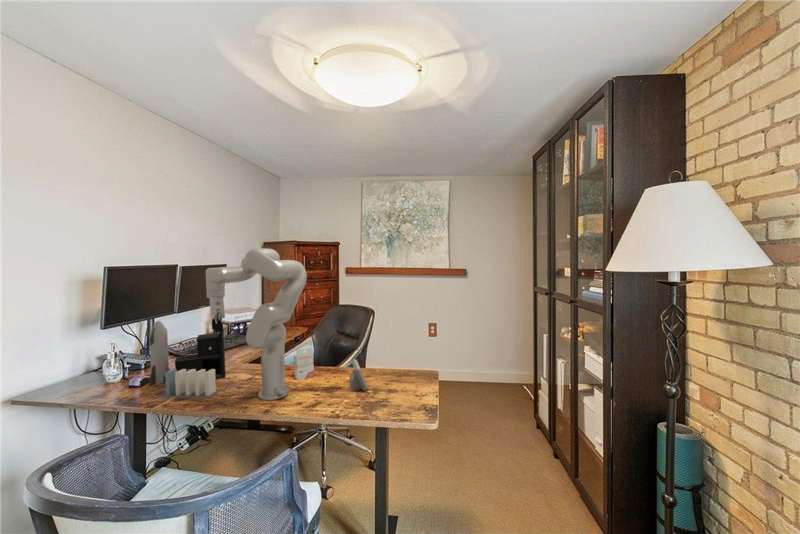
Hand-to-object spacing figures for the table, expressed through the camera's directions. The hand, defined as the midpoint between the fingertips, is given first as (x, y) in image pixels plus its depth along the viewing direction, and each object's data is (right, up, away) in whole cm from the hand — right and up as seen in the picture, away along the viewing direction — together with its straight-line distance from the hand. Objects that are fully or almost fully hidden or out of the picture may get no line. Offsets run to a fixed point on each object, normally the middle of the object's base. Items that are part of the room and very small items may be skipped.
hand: (217, 330), depth 166 cm
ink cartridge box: (+38, -25, +11) cm, 47 cm away
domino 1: (-16, -26, -9) cm, 32 cm away
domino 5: (+2, -26, -10) cm, 28 cm away
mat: (-7, -26, -9) cm, 29 cm away
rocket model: (-32, -27, +7) cm, 42 cm away
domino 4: (-2, -26, -10) cm, 28 cm away
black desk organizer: (-14, -26, +10) cm, 32 cm away
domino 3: (-7, -26, -9) cm, 28 cm away
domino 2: (-11, -26, -9) cm, 30 cm away
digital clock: (+67, -25, -3) cm, 72 cm away
